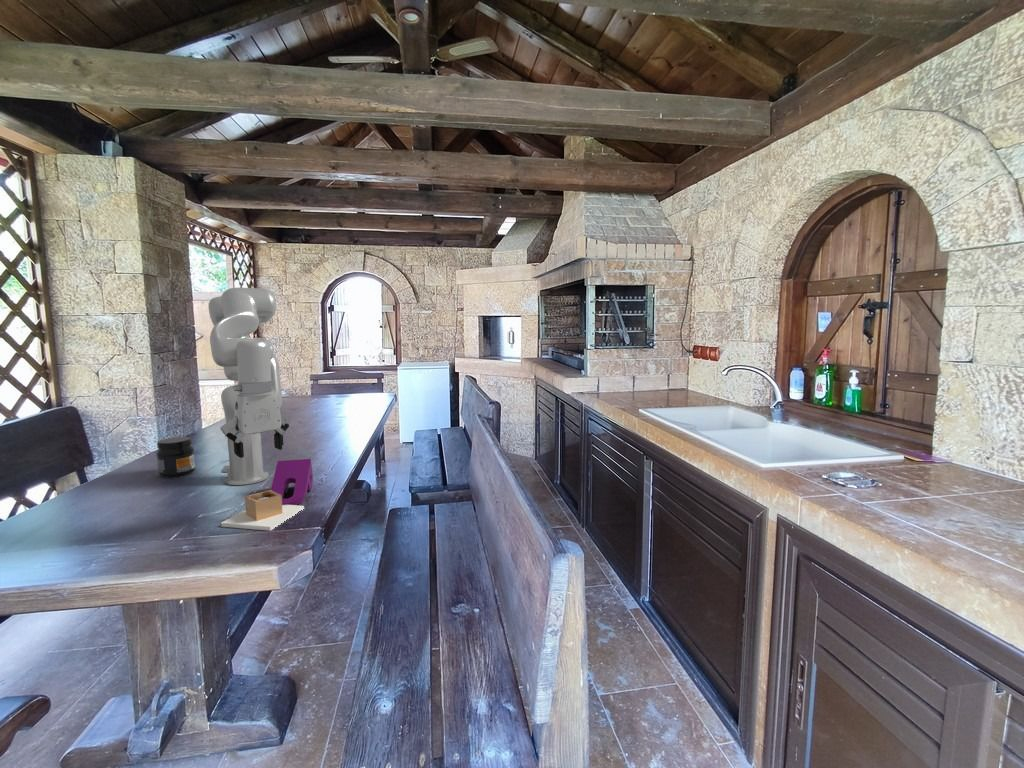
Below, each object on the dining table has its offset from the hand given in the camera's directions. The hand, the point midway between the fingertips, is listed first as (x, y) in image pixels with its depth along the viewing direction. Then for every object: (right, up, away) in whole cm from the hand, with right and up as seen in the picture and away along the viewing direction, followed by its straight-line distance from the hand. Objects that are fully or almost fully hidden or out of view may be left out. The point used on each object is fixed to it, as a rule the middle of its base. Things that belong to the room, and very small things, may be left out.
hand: (259, 452), depth 125 cm
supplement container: (-49, -13, +39) cm, 64 cm away
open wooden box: (0, -17, +2) cm, 17 cm away
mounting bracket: (+1, -16, +17) cm, 23 cm away
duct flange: (0, -18, +2) cm, 18 cm away
